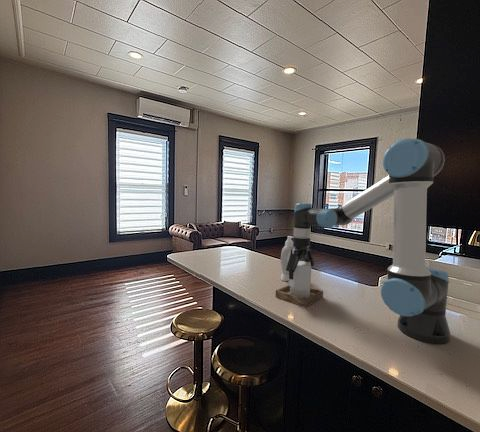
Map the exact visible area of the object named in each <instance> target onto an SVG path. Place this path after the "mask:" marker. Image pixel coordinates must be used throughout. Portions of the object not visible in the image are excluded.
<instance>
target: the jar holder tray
mask: <svg viewBox="0 0 480 432" xmlns="http://www.w3.org/2000/svg"><path fill="white" fill-rule="evenodd" d="M275 297H276V298H278V299H282V300H283V301H287V302H291V303H292V304H296V305H299V306H301V307H304V308H306V307H308V306H310V305H312V304H314V303H315V302H318V301H319V300H321V299H322V298H323V297H324V290H321V289H317V288H314V287H311V286H310V297H308V298H307V299H305V298H300V297H297V296H294V295H291V294H290V286H289V284H288V285H284V286H283V287H281V288H277V289H276V290H275Z"/></svg>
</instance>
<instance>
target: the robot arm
mask: <svg viewBox="0 0 480 432" xmlns="http://www.w3.org/2000/svg"><path fill="white" fill-rule="evenodd" d="M445 161H446V159H445V154H444V152H443V150H442V148H440V147H439V146H438V145H435V144H433V143H429V142H426V141H424V140H423V139H420V138H409V137H408V138H402V139H399V140H398V141H395V142H393V143H392V144H391V145H390V146H389V147H388V148H387V150H386V151H385V153H384V154H383V158H382V166H383V170H384V171H385V172H386V174H387V175H386V176H384V177H383V178H382V179H380V180H378V181H377V182H375V183H374V184H372V185H371V186H369V187H368V188H366V189H364V190H363V191H362V192H360V193H359V194H356V195H355V196H354V197H352V198H350V199H349V200H347V201H346V202H345V203H343V204H342V205H340V206H337V207H336V208H313V207H312V206H313V205H312V203H308V202H307V203H306V202H298V203H296V204H295V205H294V212H293V214H294V215H293V216H294V217H293V237H294V238H292V241H293V246H294V247H295V249H291V254H290V258H289V261H288V264H287V268H286V271H289V281H288V285H289V286H292V287H295V273H296V272H294V271H295V269H296V267H297V264H298V262H299V261H301V259H302V258H303V261H306V262H310V263H311V268H312V267H314V264H315V261H314V258H313V253H312V246H311V238H310V237H311V233H312V232H311V229H312V226H314V227H321V228H329V229H331V228H333V227H334V226H335V227H336V226H346V225H350V224H351V223H352V221H353V219H355V218H357V217H358V216H360V215H362V214H363V213H365V212H368V211H369V210H371V209H373V208H374V207H376V206H378V205H379V204H381V203H383V202H385V201H386V200H389V199H390V198H392V197H393V241H392V242H393V246H392V247H393V248H392V264H391V265H389V266H388V267H387V274H386V275H387V278H386V280H385V281H384V283H383V284H382V285H381V288H380V295H381V299H382V301H383V303H384V305H386V306H387V307H388V309H389V310H390V311H392V312H393V313H394V314H397V315H399V316H398V320H397V328H398V329H399V331H400V332H402V333H403V334H405V335H406V336H409V337H411V338H413V339H414V340H418V341H422V342H425V343H427V344H429V343H430V344H439V345H441V344H447V343H449V342H450V341H451V330H450V327H449V323H448V320H447V317H446V312H447V311H446V310H447V300H448V292H449V284H450V281H449V279H450V278H449V273H448V272H447V271H445V270H442V269H439V268H434V267H428V266H426V255H427V254H426V252H427V251H426V247H427V205H428V204H427V202H428V200H427V199H428V196H427V194H428V188H430V186H432V185H433V184H434V177H435V176H437V175H438V174H439V173H441V171H442V170H443V167H444V165H445Z"/></svg>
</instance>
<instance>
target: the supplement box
mask: <svg viewBox="0 0 480 432" xmlns="http://www.w3.org/2000/svg"><path fill="white" fill-rule="evenodd" d="M294 272H296V273H295V287H292V286H290V294H291V295H294V296H297V297H300V298H305V299H307V298H308V297H310V287H311V283H312V282H311V281H312V280H311V279H312V266H311V263H310V262H306V261H304V260H303V261H302V260H299V262H298V264H297V267H296V269H295V271H294Z"/></svg>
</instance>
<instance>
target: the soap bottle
mask: <svg viewBox="0 0 480 432" xmlns="http://www.w3.org/2000/svg"><path fill="white" fill-rule="evenodd" d="M294 237H295V236H291V235H288V236H287V239H286V241H284V242H285V243H284V246H283V247H282V249H281V253H280V254H281V255H280V267H281V272H282V273H281V277H280V281H281V282H289V271H286V268H287V264H288V261H289V258H290V254H291V249H295V246H294V245H293V238H294Z"/></svg>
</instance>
